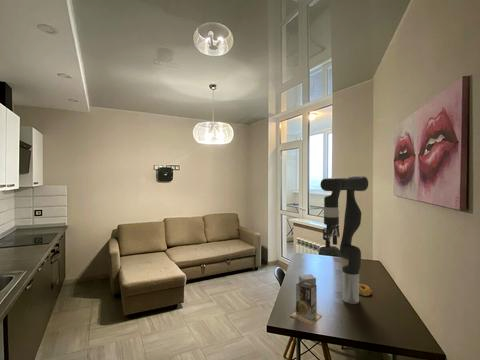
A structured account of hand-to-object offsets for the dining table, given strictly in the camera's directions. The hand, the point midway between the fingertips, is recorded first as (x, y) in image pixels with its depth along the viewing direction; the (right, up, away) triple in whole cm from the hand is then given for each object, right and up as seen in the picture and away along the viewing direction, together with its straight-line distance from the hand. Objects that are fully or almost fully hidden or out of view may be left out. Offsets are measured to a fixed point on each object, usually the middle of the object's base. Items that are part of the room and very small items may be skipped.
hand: (331, 246), depth 137 cm
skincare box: (-9, -37, +15) cm, 41 cm away
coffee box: (-13, -37, 0) cm, 39 cm away
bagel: (+31, -38, +29) cm, 57 cm away
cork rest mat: (-14, -37, 0) cm, 39 cm away
